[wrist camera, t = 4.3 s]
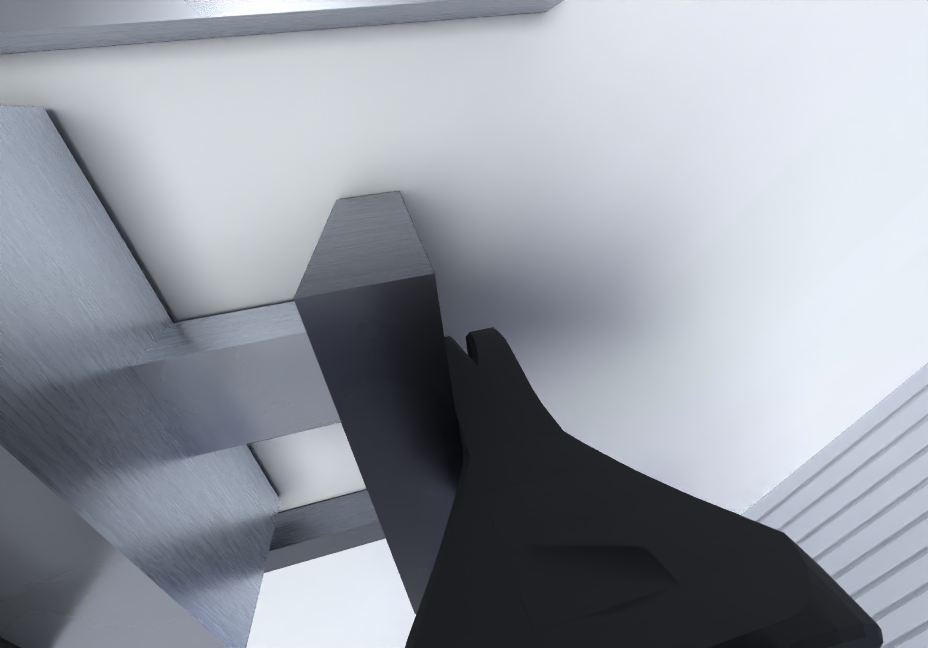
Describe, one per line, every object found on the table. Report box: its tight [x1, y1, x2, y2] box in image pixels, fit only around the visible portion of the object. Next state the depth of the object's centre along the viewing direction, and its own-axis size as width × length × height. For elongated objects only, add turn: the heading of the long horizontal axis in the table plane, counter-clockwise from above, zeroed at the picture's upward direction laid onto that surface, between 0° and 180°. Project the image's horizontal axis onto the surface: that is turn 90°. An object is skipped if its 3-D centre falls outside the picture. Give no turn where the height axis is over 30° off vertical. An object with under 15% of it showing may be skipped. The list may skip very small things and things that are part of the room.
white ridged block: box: [741, 363, 928, 648], centre depth 23 cm, size 32×11×11 cm, turn 147°
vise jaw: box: [0, 105, 463, 648], centre depth 8 cm, size 13×10×6 cm
